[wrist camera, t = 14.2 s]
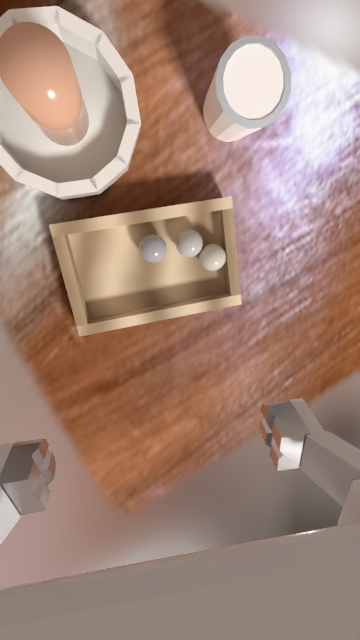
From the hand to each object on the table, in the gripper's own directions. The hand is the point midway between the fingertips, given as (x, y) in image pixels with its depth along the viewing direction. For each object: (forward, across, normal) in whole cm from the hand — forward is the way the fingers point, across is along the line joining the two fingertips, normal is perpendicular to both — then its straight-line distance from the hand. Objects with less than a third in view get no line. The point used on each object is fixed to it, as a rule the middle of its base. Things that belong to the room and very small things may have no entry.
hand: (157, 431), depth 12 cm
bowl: (+29, +6, -12) cm, 32 cm away
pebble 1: (+25, 0, +1) cm, 25 cm away
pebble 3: (+26, -7, +3) cm, 27 cm away
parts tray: (+26, 0, +3) cm, 27 cm away
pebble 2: (+25, -6, +2) cm, 26 cm away
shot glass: (+31, -11, -11) cm, 35 cm away
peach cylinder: (+29, +6, -12) cm, 32 cm away
